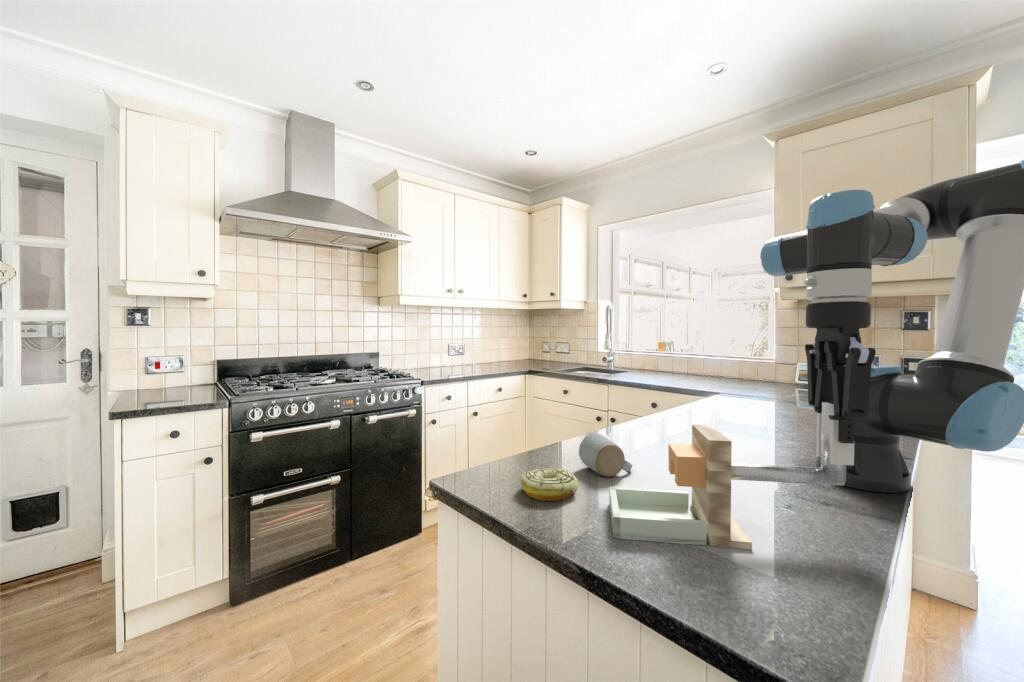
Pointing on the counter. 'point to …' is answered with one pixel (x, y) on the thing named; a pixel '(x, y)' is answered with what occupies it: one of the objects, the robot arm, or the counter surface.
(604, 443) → the ceramic mug
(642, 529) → the tray
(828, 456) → the grey l-shaped bar
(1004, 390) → the robot arm
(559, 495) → the decorated donut
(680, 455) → the block
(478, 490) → the counter surface
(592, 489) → the counter surface
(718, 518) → the bracket
